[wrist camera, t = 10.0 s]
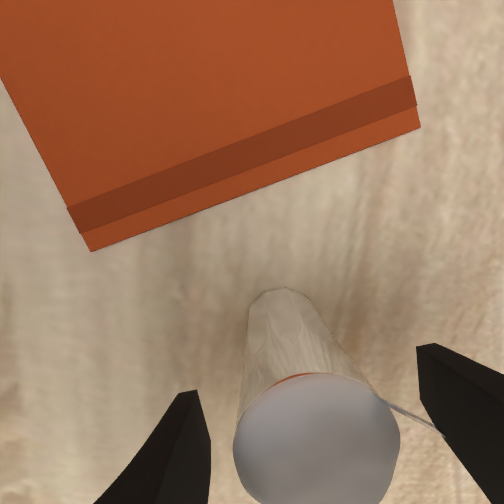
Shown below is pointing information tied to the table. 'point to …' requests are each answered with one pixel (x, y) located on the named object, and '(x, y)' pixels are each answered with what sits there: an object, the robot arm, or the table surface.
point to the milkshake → (309, 413)
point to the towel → (197, 98)
